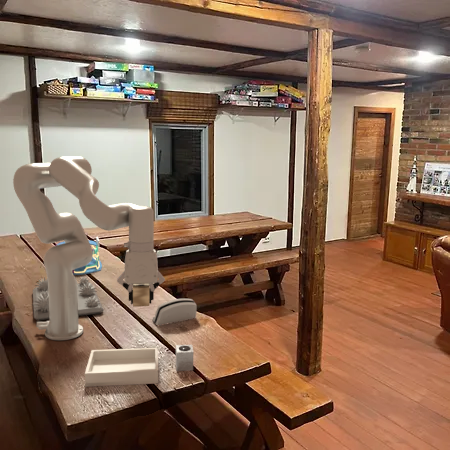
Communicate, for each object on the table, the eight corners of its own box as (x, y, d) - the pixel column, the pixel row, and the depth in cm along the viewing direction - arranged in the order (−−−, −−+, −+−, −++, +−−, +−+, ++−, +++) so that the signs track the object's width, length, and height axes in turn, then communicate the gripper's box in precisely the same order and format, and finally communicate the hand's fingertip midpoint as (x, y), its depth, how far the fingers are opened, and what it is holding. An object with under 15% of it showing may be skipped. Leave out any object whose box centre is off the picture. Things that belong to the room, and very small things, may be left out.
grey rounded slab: (190, 313, 180) (194, 293, 176) (195, 321, 177) (200, 301, 173) (151, 321, 172) (155, 300, 167) (155, 329, 168) (160, 308, 164)
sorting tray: (85, 386, 126) (84, 373, 125) (91, 362, 139) (91, 350, 138) (158, 383, 129) (158, 370, 128) (157, 359, 142) (157, 347, 142)
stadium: (53, 258, 252) (52, 233, 250) (98, 256, 261) (98, 231, 258) (53, 277, 220) (52, 248, 217) (104, 273, 229) (104, 246, 226)
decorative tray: (104, 315, 176) (103, 291, 174) (32, 324, 166) (31, 298, 164) (92, 287, 208) (91, 266, 206) (31, 293, 198) (29, 271, 196)
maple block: (133, 306, 140) (132, 287, 139) (133, 300, 145) (133, 282, 144) (149, 306, 141) (149, 287, 140) (149, 300, 146) (149, 282, 145)
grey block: (176, 371, 136) (176, 352, 135) (175, 363, 141) (175, 344, 140) (193, 370, 137) (193, 351, 136) (191, 362, 142) (192, 344, 140)
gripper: (112, 249, 134) (112, 307, 138) (169, 249, 137) (169, 305, 141) (113, 243, 141) (113, 299, 145) (168, 243, 145) (167, 297, 148)
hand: (141, 301), depth 143 cm, fingers closed on maple block, 5 cm apart
